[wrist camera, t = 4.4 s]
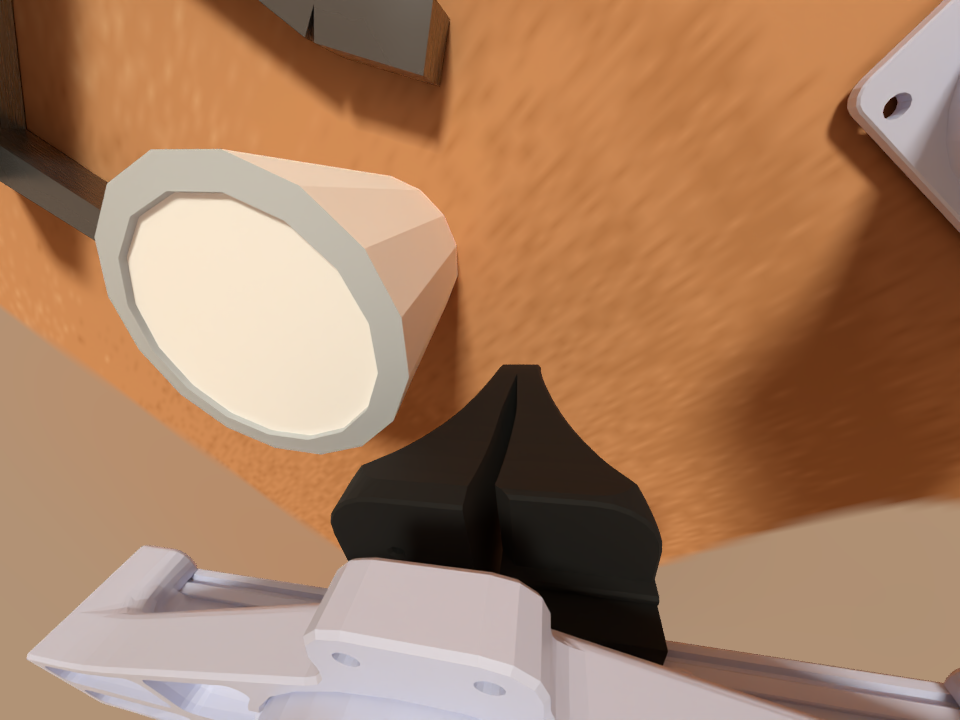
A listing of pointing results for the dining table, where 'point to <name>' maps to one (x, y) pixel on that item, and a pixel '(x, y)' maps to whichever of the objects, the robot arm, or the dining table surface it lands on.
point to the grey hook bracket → (300, 3)
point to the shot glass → (277, 288)
